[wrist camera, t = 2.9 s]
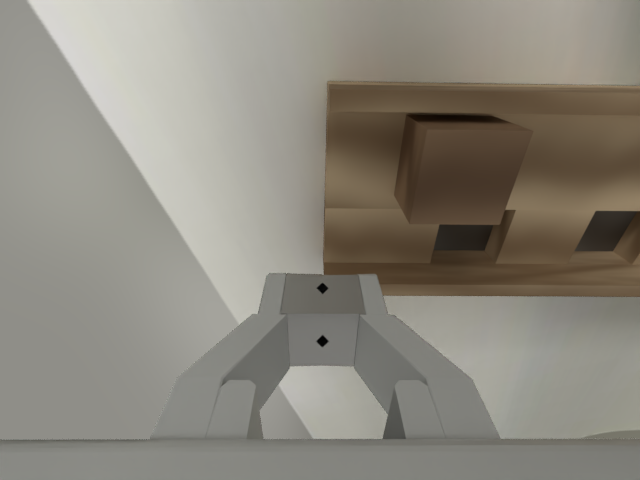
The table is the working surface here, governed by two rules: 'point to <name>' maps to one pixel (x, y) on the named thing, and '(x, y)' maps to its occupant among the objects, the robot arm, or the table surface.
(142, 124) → the table surface
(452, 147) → the walnut block
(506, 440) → the robot arm
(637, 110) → the trap lane
